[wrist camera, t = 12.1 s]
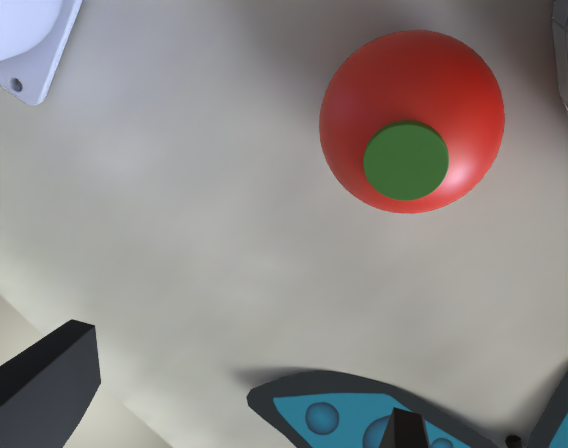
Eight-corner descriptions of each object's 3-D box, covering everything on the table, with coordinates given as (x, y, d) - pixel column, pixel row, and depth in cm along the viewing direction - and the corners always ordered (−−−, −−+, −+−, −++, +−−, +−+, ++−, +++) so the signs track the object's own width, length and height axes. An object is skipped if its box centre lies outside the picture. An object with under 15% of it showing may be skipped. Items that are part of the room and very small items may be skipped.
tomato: (303, 110, 18) (264, 175, 13) (401, -22, 15) (391, 6, 11) (417, 194, 18) (415, 283, 14) (530, 83, 15) (571, 150, 11)
